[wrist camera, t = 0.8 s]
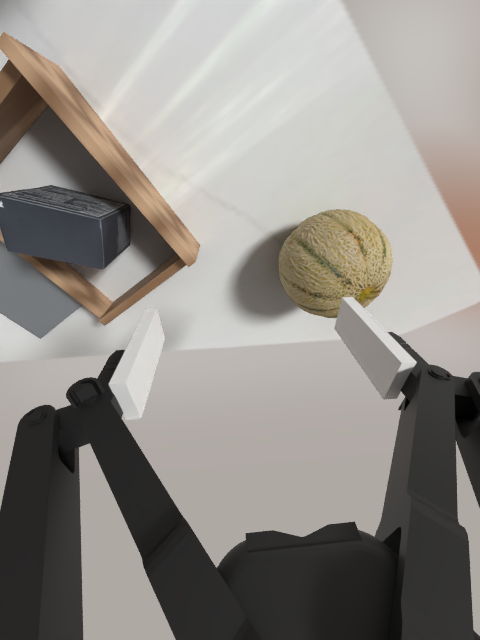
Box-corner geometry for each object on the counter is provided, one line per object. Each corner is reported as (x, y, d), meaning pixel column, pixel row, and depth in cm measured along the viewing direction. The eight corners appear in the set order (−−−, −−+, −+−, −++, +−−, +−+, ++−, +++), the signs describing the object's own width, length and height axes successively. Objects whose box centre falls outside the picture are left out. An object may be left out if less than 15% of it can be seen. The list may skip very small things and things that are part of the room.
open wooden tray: (-35, 186, 32) (-104, 191, 25) (59, 66, 26) (3, 31, 19) (113, 310, 43) (94, 336, 36) (200, 245, 38) (195, 261, 31)
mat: (-55, 273, 38) (-59, 274, 37) (-11, 223, 34) (-15, 224, 34) (42, 336, 45) (40, 338, 45) (86, 301, 42) (84, 303, 41)
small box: (57, 232, 35) (3, 253, 27) (49, 183, 32) (-15, 190, 23) (131, 247, 37) (103, 272, 29) (131, 203, 34) (100, 216, 25)
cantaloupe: (271, 206, 35) (299, 227, 23) (367, 199, 36) (445, 217, 23) (269, 294, 44) (289, 345, 31) (347, 287, 44) (398, 336, 31)
